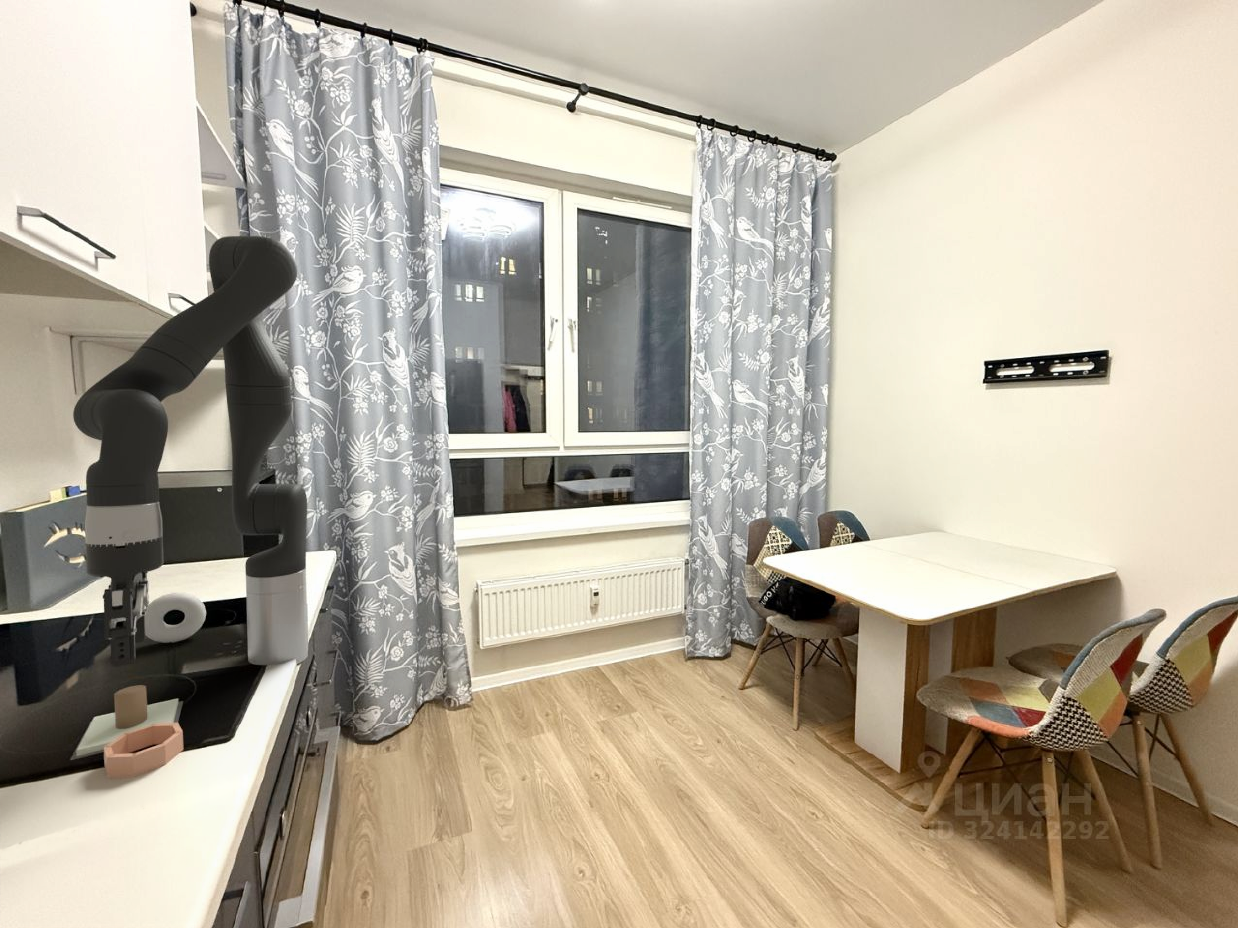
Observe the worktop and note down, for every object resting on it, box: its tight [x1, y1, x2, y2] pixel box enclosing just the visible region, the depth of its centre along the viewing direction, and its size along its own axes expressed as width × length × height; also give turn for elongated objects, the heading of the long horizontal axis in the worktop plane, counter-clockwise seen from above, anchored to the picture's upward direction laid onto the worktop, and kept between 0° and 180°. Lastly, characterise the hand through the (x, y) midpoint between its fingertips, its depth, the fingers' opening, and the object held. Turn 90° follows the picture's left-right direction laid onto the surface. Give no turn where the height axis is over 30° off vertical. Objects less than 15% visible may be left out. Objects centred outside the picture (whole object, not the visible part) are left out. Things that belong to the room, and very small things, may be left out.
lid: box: [75, 684, 179, 756], centre depth 70 cm, size 9×9×5 cm
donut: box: [142, 592, 207, 644], centre depth 101 cm, size 10×4×10 cm, turn 126°
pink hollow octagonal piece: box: [103, 722, 184, 779], centre depth 64 cm, size 7×7×4 cm
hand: (129, 652), depth 69 cm, fingers open, 8 cm apart
